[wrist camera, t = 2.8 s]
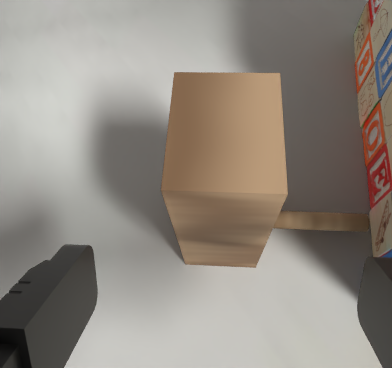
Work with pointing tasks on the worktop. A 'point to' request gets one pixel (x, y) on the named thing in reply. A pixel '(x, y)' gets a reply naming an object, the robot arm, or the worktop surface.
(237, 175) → the wooden mallet
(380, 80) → the stack of blocks
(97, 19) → the worktop surface
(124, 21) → the worktop surface
